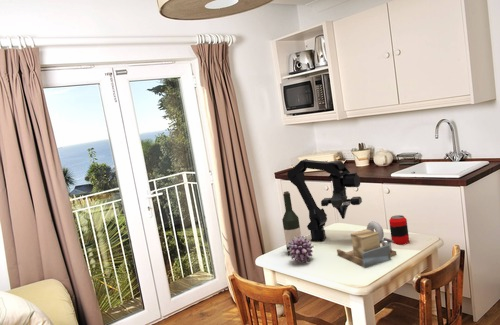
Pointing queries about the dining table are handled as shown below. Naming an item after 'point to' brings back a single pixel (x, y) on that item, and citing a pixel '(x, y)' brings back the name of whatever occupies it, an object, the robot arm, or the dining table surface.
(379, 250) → the bay
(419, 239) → the dining table surface
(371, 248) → the tall wooden block
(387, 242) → the post
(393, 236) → the soda can
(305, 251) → the purple spiky ball
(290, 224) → the wine bottle
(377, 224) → the donut
